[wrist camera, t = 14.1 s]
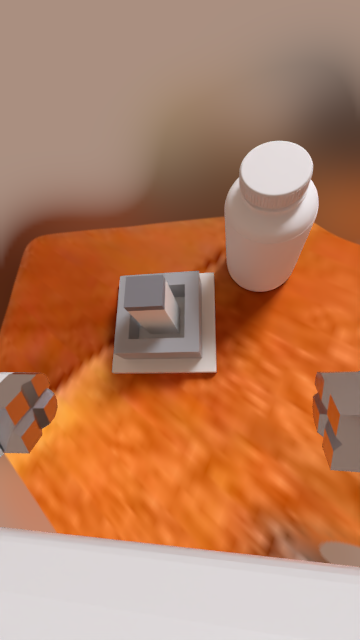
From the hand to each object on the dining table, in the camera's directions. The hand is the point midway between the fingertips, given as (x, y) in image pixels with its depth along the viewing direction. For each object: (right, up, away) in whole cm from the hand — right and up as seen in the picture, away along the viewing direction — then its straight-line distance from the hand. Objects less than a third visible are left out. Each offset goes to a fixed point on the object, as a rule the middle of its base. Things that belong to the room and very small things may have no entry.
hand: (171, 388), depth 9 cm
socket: (-1, +2, +26) cm, 26 cm away
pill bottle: (+10, +9, +27) cm, 30 cm away
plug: (-2, +2, +25) cm, 25 cm away
